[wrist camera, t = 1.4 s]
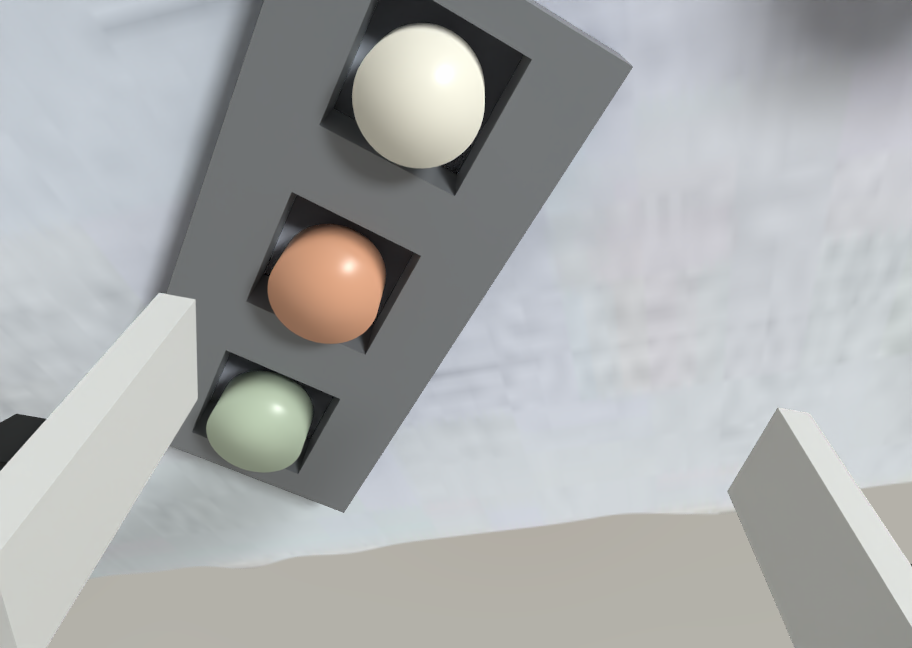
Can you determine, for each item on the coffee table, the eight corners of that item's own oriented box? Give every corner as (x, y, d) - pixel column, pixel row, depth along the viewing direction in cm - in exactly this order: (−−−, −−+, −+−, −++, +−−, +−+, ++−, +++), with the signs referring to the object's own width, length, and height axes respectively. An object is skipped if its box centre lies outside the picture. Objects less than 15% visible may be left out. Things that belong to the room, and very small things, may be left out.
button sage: (211, 419, 38) (194, 450, 35) (239, 356, 35) (222, 385, 33) (294, 452, 39) (283, 484, 37) (327, 393, 36) (316, 424, 34)
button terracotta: (268, 289, 33) (252, 315, 31) (304, 205, 30) (290, 226, 28) (361, 331, 34) (352, 359, 32) (403, 253, 31) (397, 278, 29)
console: (144, 394, 40) (121, 427, 37) (326, -128, 25) (308, -134, 23) (352, 477, 43) (343, 512, 40) (619, 54, 28) (633, 66, 26)
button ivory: (344, 114, 28) (331, 130, 26) (394, -4, 25) (386, 3, 23) (449, 170, 29) (446, 190, 27) (507, 63, 27) (509, 75, 24)
